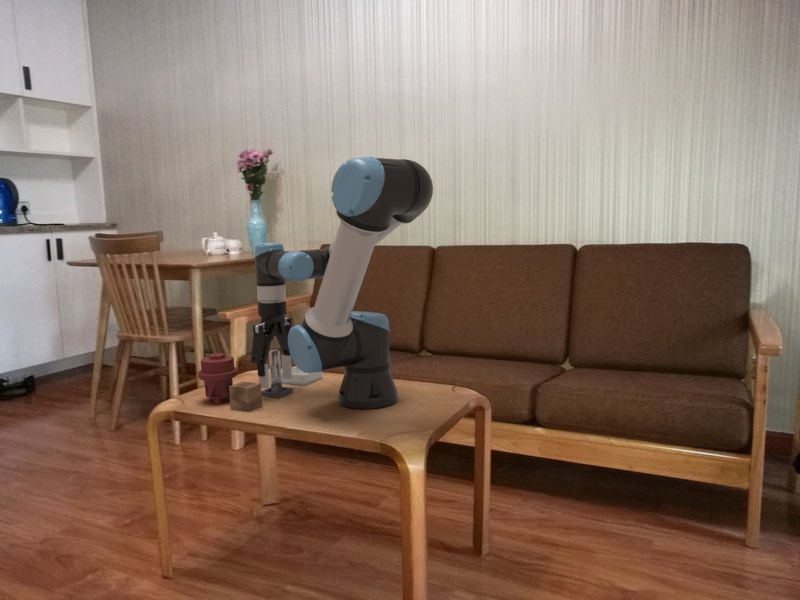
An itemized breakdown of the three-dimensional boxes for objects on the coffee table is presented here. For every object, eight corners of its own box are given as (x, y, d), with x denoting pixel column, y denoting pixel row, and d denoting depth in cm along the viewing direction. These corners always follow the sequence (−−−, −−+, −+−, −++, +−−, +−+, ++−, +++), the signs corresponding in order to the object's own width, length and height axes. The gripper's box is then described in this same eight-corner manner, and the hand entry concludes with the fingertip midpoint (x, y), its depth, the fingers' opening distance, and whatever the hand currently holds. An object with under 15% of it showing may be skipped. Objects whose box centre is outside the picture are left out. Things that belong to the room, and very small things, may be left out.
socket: (293, 392, 171) (292, 388, 171) (279, 398, 165) (278, 393, 165) (274, 390, 174) (274, 385, 174) (260, 395, 168) (260, 391, 168)
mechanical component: (220, 408, 158) (191, 403, 163) (247, 397, 167) (219, 393, 172) (217, 360, 157) (188, 357, 161) (244, 352, 165) (216, 349, 170)
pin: (284, 393, 170) (282, 350, 169) (277, 396, 168) (275, 352, 166) (275, 392, 172) (273, 349, 170) (268, 395, 169) (266, 351, 167)
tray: (322, 378, 186) (321, 368, 185) (304, 385, 177) (303, 375, 177) (296, 375, 190) (296, 365, 189) (278, 382, 182) (277, 372, 181)
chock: (262, 406, 159) (261, 383, 158) (249, 412, 154) (247, 388, 153) (243, 404, 161) (242, 381, 161) (230, 409, 157) (229, 386, 156)
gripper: (285, 295, 178) (289, 372, 181) (232, 306, 158) (237, 392, 161) (307, 296, 174) (310, 374, 177) (256, 307, 155) (261, 395, 158)
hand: (276, 383), depth 169 cm, fingers open, 9 cm apart
